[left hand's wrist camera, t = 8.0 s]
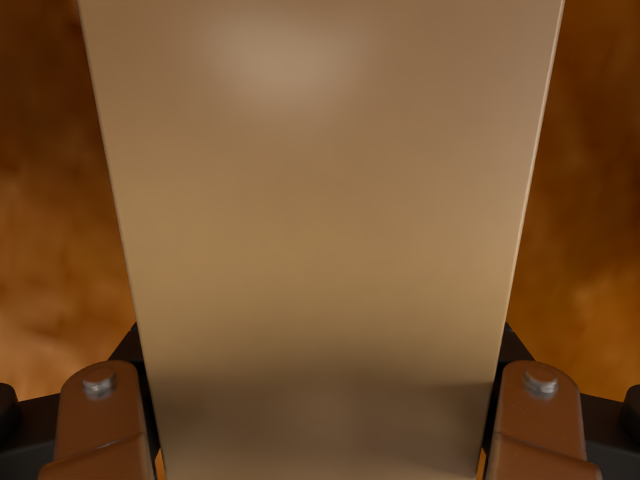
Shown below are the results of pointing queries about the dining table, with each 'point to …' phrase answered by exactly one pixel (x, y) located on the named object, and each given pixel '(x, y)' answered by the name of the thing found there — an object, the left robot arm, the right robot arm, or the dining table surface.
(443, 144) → the box
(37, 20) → the dining table surface
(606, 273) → the dining table surface
